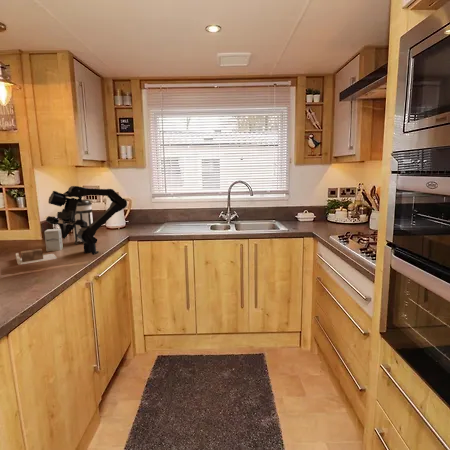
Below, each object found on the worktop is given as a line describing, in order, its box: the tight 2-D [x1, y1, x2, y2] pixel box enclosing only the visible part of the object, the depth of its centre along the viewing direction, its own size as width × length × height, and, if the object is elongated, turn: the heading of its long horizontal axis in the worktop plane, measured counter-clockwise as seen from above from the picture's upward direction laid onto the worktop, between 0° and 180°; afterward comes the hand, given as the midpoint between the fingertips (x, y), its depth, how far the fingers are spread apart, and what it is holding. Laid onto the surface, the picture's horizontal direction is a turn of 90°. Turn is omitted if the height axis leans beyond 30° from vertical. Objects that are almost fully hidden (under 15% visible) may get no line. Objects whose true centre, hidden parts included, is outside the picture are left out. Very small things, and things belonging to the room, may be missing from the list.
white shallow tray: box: [15, 252, 58, 265], centre depth 164 cm, size 17×13×4 cm
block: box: [20, 248, 44, 262], centre depth 162 cm, size 4×4×9 cm
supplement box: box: [44, 228, 64, 252], centre depth 183 cm, size 7×7×13 cm
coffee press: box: [72, 197, 95, 245], centre depth 203 cm, size 17×16×30 cm
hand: (63, 238), depth 163 cm, fingers closed
